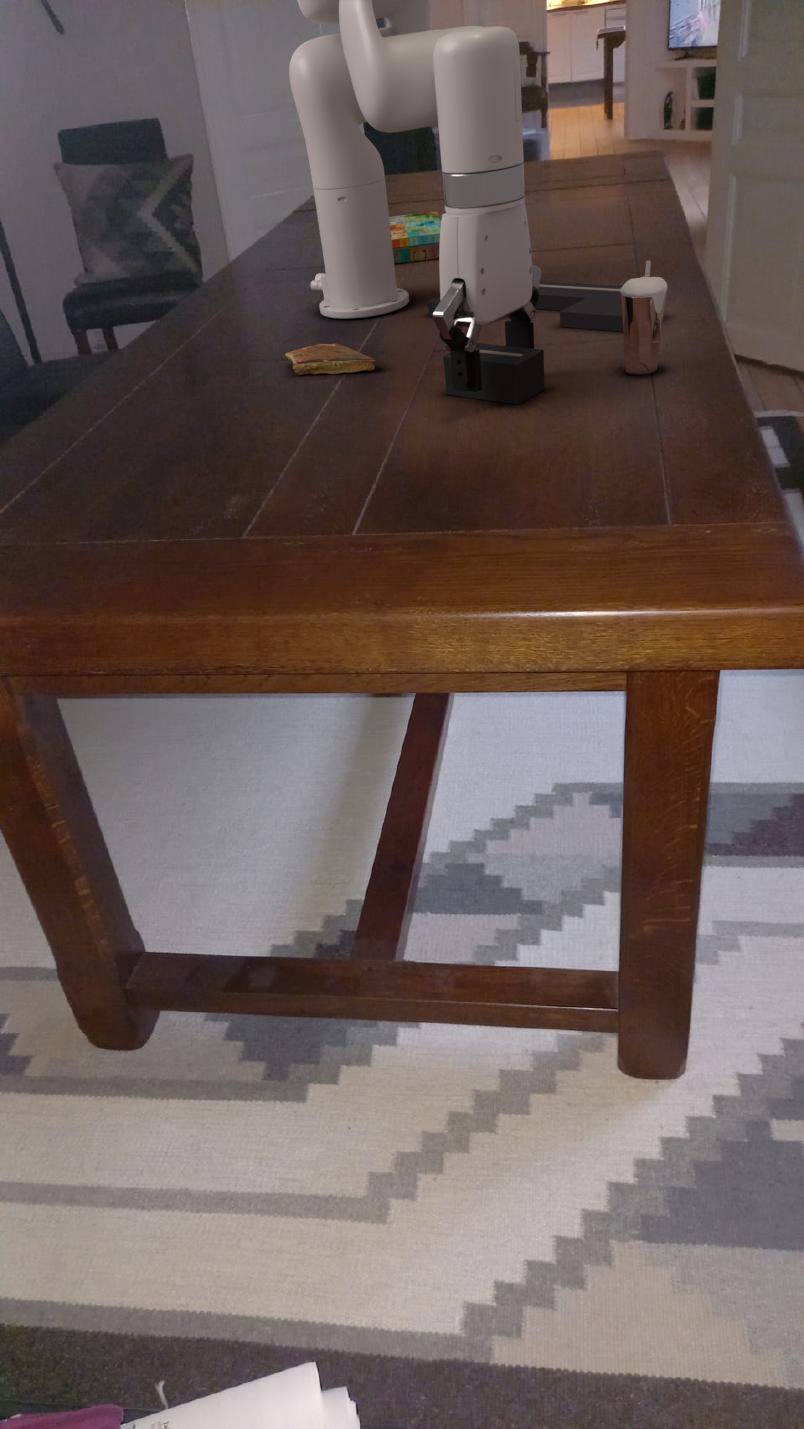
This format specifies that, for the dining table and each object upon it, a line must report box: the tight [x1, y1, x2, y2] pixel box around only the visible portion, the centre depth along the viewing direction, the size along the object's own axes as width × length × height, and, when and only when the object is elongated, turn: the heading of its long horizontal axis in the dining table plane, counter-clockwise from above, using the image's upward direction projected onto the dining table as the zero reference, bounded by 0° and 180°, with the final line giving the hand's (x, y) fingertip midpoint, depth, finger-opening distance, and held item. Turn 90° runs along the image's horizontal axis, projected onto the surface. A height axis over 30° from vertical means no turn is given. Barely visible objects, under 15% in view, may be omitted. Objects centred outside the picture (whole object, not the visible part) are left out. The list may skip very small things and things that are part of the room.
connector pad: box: [443, 342, 546, 405], centre depth 101 cm, size 9×5×4 cm, turn 52°
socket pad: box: [427, 281, 623, 333], centre depth 125 cm, size 30×12×2 cm, turn 52°
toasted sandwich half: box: [285, 342, 377, 376], centre depth 115 cm, size 11×8×2 cm
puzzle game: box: [389, 211, 442, 265], centre depth 165 cm, size 12×5×20 cm
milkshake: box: [620, 260, 668, 376], centre depth 100 cm, size 4×5×10 cm
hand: (494, 375), depth 101 cm, fingers open, 9 cm apart
